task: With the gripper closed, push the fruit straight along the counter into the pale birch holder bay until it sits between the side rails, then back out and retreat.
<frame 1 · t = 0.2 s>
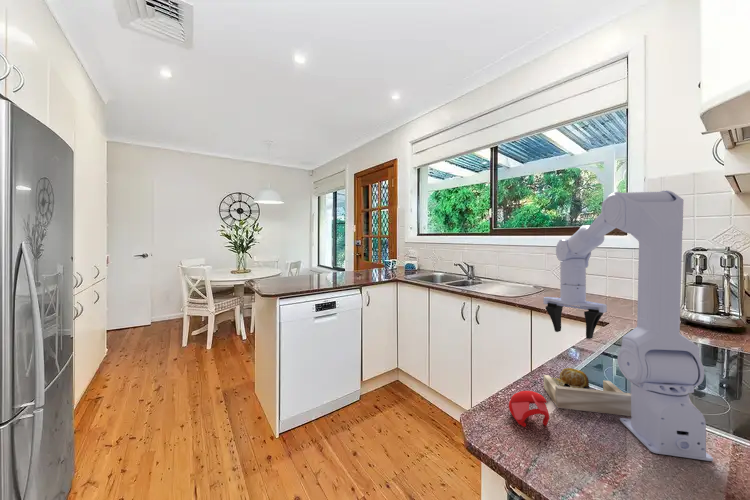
hand: (573, 334, 79), 10 cm above the worktop, tool pointing down, fingers open, 7 cm apart
holder: (582, 398, 64), on the worktop
red toy helmet: (528, 422, 56), on the worktop
fruit: (569, 387, 71), on the worktop
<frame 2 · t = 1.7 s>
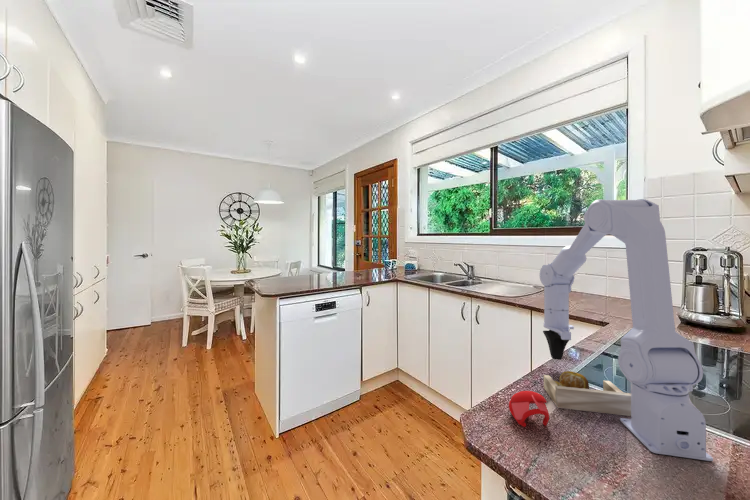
hand: (556, 358, 80), 3 cm above the worktop, tool pointing down, fingers closed
fruit: (568, 390, 69), on the worktop
everything else where it was.
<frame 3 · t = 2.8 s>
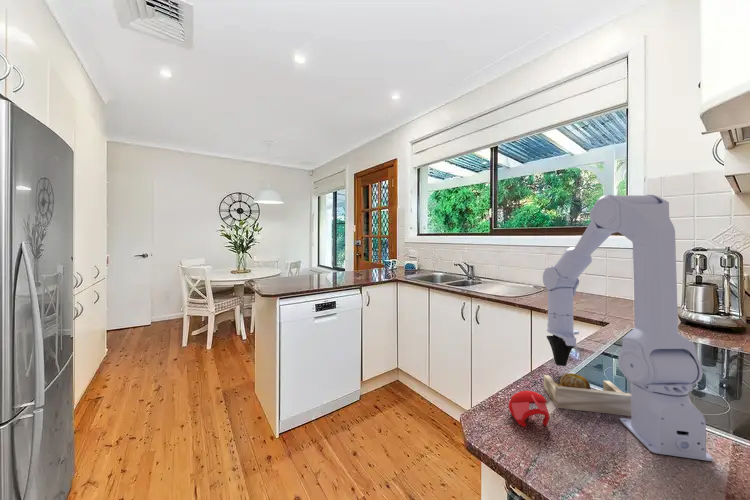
hand: (560, 364, 77), 2 cm above the worktop, tool pointing down, fingers closed
fruit: (568, 393, 68), on the worktop
everything else where it was.
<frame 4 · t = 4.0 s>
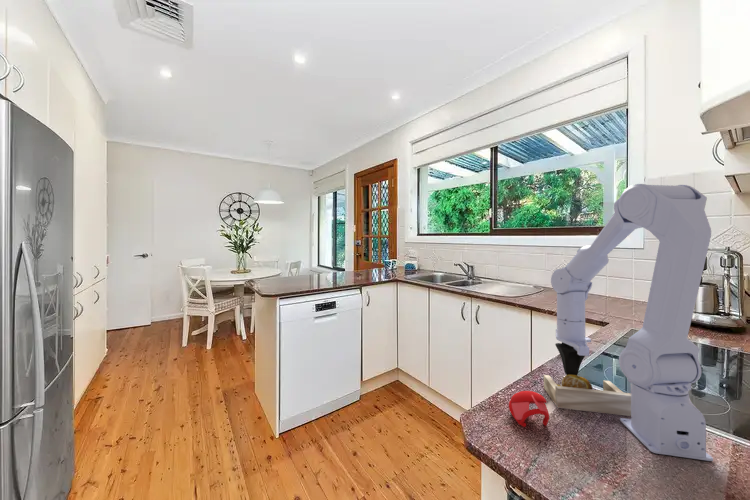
hand: (570, 375, 70), 2 cm above the worktop, tool pointing down, fingers closed
fruit: (570, 394, 67), on the worktop, touching gripper
everything else where it was.
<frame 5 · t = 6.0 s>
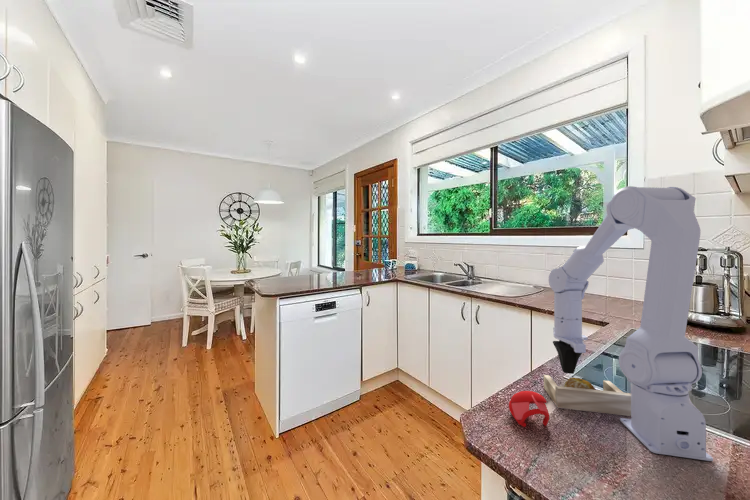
hand: (568, 372, 72), 2 cm above the worktop, tool pointing down, fingers closed
fruit: (573, 398, 65), on the worktop
everything else where it was.
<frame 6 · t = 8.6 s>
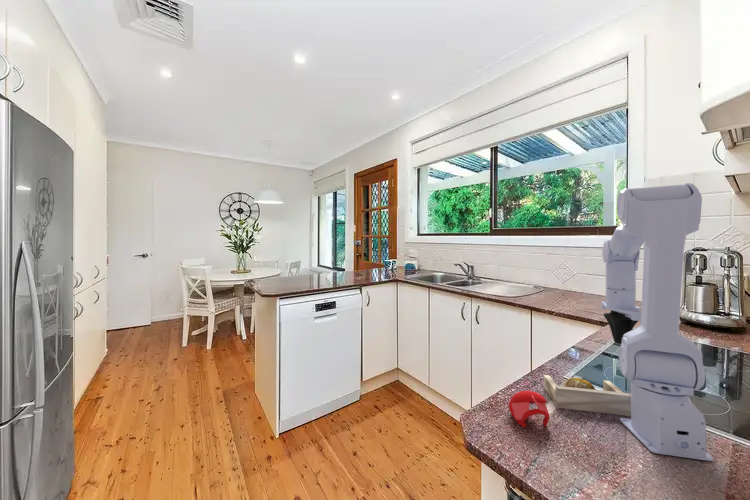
hand: (620, 343, 73), 9 cm above the worktop, tool pointing down, fingers closed
nothing on the worktop moved.
at the end: fruit 1.7 cm off-centre on the holder, point -0.5 cm above the holder's base; fruit moved 6.5 cm from its start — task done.
